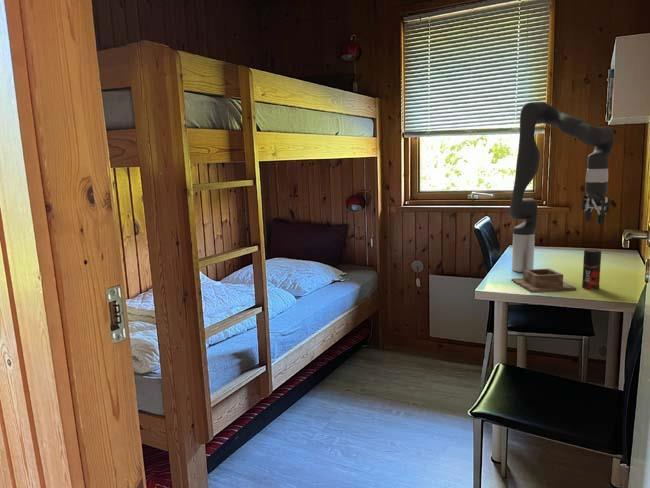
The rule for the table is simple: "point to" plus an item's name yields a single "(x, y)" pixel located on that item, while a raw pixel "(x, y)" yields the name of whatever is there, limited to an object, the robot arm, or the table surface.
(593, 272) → the deodorant
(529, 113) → the robot arm
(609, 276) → the table surface
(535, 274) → the well holder
